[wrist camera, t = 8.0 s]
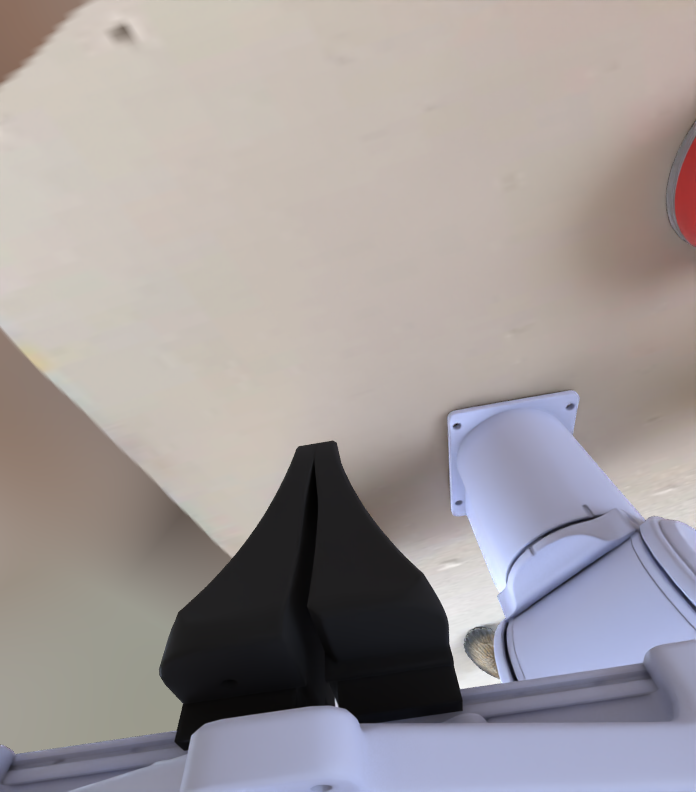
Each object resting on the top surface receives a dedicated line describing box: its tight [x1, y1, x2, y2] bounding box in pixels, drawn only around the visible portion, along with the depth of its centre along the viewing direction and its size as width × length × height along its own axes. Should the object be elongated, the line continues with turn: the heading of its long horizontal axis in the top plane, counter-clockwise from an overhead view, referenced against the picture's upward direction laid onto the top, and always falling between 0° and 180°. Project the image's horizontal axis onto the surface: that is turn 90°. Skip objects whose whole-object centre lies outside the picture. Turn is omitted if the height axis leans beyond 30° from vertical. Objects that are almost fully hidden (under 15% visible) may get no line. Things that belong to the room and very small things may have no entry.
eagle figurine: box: [464, 627, 500, 679], centre depth 39 cm, size 8×7×9 cm
